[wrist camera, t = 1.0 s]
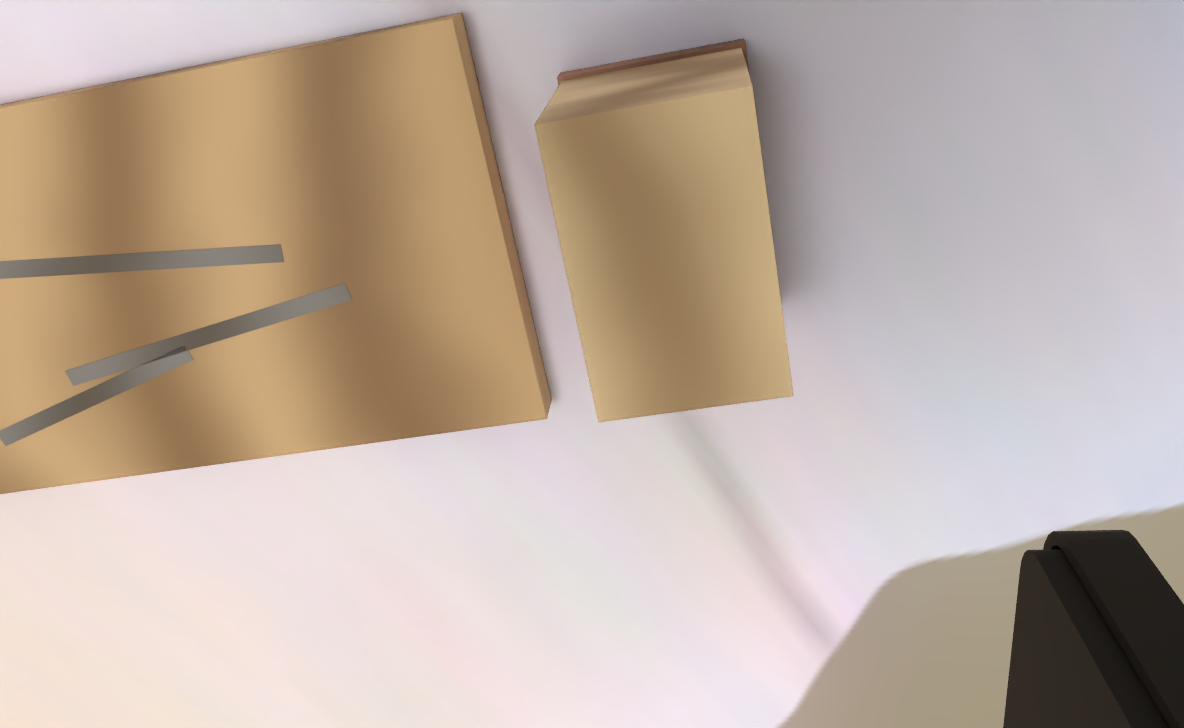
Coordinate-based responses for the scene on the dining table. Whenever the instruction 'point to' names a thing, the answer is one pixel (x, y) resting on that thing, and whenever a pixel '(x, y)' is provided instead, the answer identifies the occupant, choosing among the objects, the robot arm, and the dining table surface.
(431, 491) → the dining table surface
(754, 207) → the block
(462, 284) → the board
